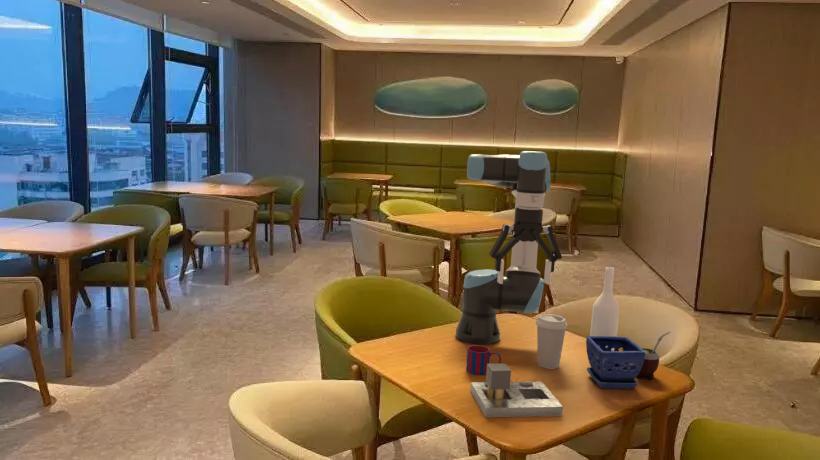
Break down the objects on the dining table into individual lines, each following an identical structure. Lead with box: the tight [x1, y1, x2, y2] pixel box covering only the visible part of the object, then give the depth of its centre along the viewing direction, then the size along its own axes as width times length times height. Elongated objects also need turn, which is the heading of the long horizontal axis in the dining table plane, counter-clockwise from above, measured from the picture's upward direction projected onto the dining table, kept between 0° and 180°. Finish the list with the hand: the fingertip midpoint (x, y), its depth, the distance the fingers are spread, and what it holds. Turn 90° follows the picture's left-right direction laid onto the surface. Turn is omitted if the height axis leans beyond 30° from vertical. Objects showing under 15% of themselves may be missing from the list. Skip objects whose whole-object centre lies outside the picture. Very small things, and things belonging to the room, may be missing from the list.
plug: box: [485, 363, 512, 400], centre depth 167 cm, size 5×5×10 cm
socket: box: [470, 381, 564, 418], centre depth 168 cm, size 16×20×3 cm
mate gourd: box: [635, 331, 671, 381], centre depth 190 cm, size 8×8×15 cm
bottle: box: [589, 266, 620, 351], centre depth 202 cm, size 8×8×30 cm
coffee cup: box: [535, 313, 569, 370], centre depth 196 cm, size 10×10×15 cm
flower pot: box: [585, 335, 645, 390], centre depth 185 cm, size 13×13×12 cm
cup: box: [465, 344, 502, 376], centre depth 189 cm, size 7×10×7 cm
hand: (523, 283), depth 179 cm, fingers open, 13 cm apart
